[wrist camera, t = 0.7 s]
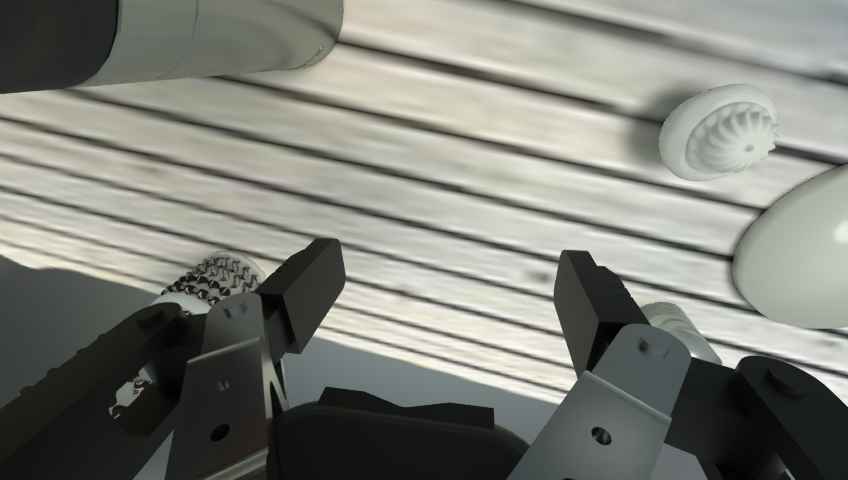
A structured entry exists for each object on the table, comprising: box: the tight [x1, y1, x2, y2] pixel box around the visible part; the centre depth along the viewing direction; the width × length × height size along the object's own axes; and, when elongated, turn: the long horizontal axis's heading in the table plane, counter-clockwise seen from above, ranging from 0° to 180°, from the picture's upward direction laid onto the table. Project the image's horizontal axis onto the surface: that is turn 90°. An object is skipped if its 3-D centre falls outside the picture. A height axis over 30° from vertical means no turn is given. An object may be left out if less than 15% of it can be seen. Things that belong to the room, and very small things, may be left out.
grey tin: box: [640, 302, 722, 365], centre depth 30 cm, size 5×5×6 cm
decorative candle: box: [19, 251, 267, 419], centre depth 29 cm, size 9×9×25 cm
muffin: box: [658, 84, 779, 181], centre depth 21 cm, size 6×6×7 cm
